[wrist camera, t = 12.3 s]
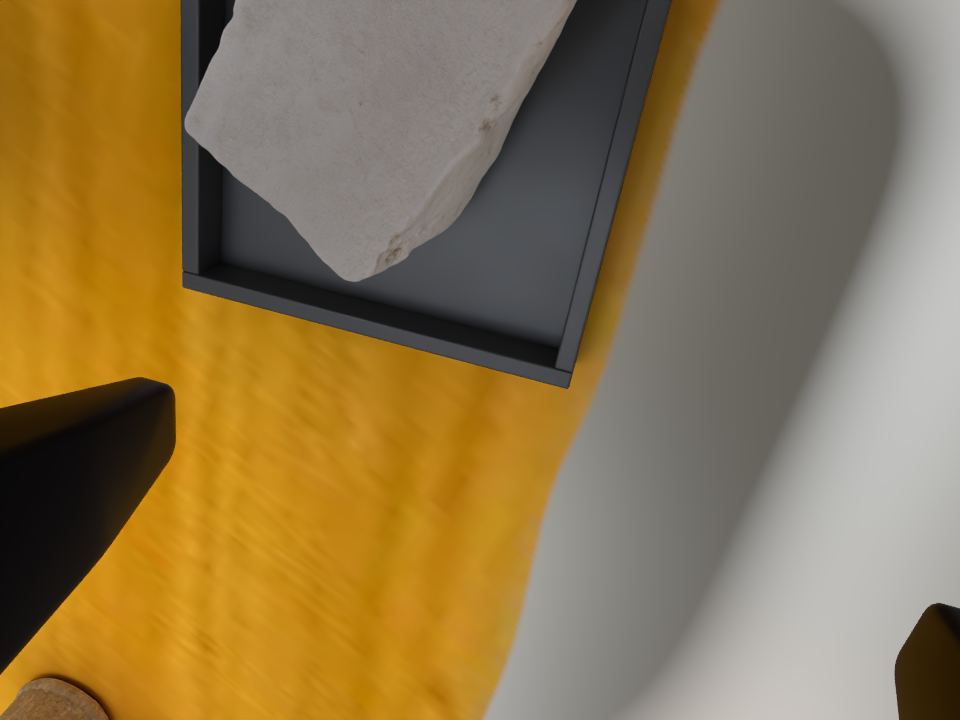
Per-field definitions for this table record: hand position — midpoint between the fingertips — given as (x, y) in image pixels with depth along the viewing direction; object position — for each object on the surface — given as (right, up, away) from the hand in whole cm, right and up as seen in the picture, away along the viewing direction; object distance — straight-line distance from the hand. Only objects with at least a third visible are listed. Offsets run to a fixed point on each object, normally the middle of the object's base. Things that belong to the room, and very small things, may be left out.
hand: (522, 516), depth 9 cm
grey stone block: (-2, +10, +9) cm, 13 cm away
